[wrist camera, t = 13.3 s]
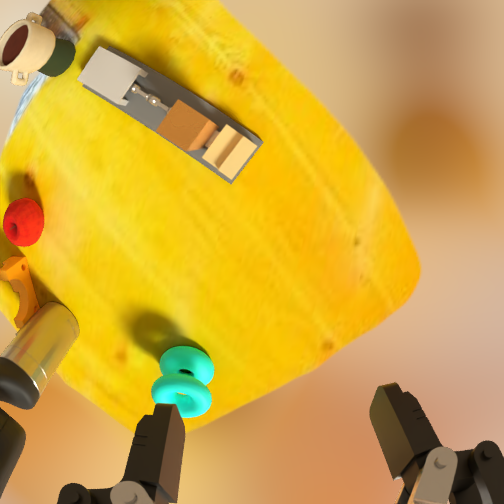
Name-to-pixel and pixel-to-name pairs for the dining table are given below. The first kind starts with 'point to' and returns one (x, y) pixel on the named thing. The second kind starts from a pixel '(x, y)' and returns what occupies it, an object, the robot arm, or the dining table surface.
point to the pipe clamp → (20, 287)
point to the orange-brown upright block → (182, 123)
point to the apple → (23, 222)
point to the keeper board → (152, 82)
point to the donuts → (184, 380)
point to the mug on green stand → (33, 50)
